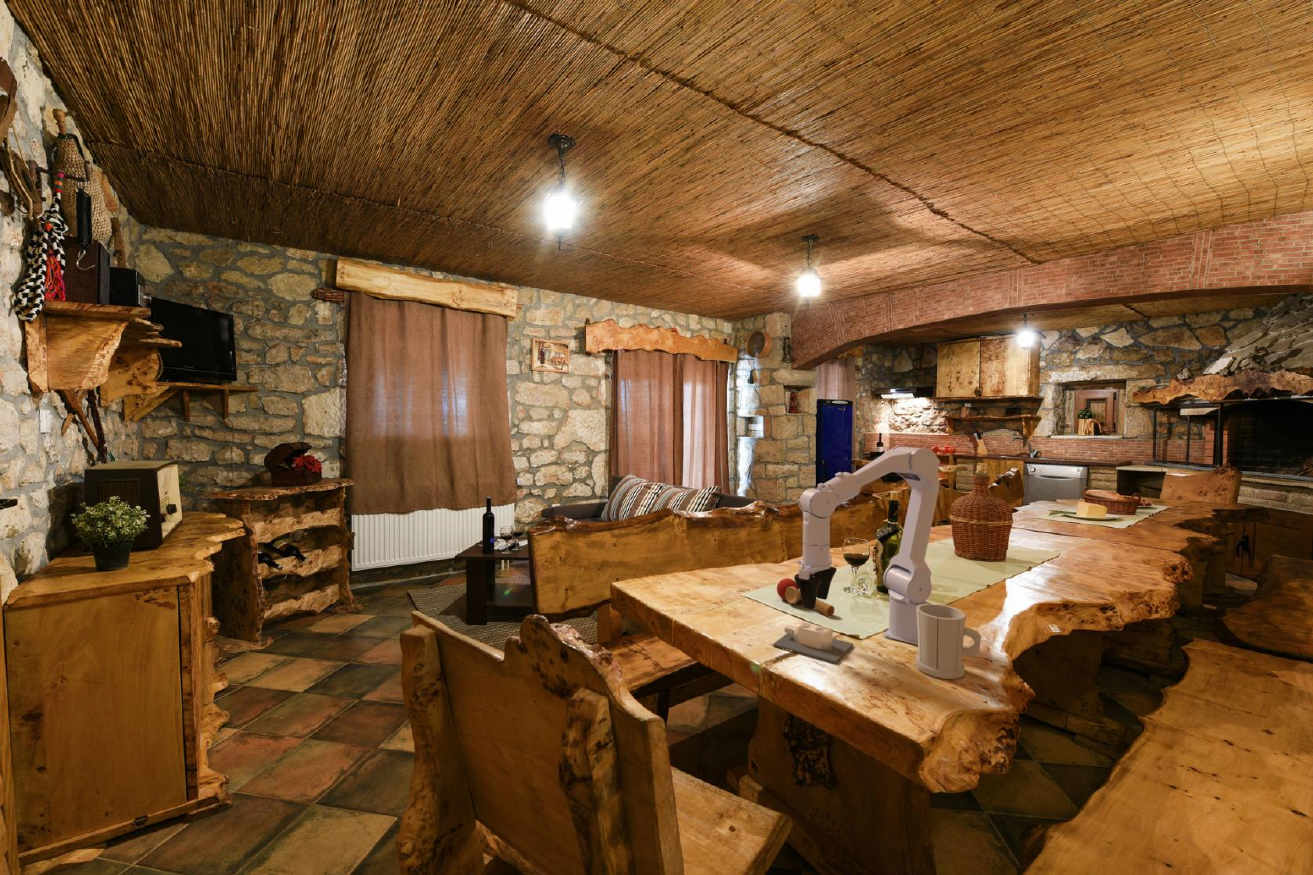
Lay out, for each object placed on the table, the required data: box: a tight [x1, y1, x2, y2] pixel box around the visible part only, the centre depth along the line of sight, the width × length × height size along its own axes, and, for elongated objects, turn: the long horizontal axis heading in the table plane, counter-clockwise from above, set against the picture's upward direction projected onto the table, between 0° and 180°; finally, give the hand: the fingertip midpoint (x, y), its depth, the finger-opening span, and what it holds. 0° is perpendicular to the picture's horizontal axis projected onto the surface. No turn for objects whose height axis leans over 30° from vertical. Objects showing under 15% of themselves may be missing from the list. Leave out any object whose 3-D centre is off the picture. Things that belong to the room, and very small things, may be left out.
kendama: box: [776, 577, 835, 618], centre depth 144 cm, size 8×6×18 cm
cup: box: [914, 603, 982, 680], centre depth 107 cm, size 10×9×12 cm
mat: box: [772, 633, 854, 665], centre depth 118 cm, size 14×11×1 cm
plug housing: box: [784, 621, 834, 650], centre depth 119 cm, size 11×4×4 cm, turn 52°
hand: (815, 603), depth 119 cm, fingers open, 7 cm apart
